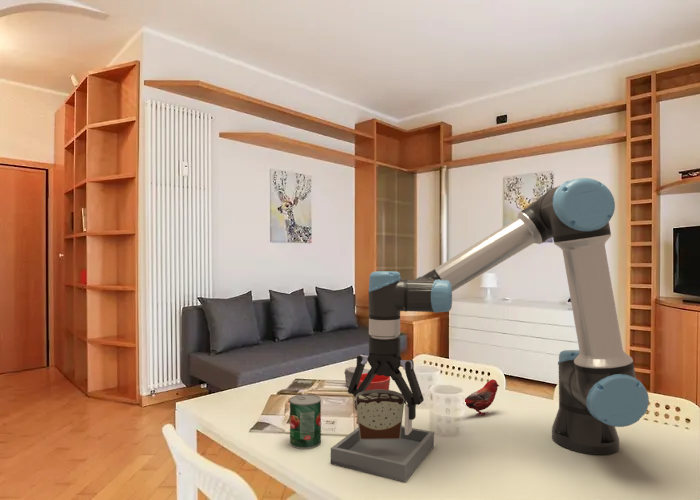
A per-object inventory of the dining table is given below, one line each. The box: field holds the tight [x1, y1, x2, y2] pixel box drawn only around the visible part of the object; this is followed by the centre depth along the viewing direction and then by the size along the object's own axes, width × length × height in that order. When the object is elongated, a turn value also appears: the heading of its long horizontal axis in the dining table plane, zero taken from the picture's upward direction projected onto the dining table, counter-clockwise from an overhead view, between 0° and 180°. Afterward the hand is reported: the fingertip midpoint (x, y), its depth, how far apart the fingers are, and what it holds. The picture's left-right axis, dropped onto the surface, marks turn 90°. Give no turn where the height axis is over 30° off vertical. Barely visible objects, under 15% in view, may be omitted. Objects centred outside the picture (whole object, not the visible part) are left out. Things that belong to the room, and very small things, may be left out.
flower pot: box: [357, 373, 391, 391], centre depth 139 cm, size 11×11×10 cm
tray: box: [330, 425, 435, 483], centre depth 107 cm, size 18×20×4 cm
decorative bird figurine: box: [464, 379, 500, 416], centre depth 132 cm, size 3×18×10 cm, turn 115°
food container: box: [353, 389, 407, 440], centre depth 107 cm, size 12×6×10 cm, turn 92°
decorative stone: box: [344, 366, 370, 388], centre depth 159 cm, size 15×7×10 cm
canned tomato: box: [289, 393, 322, 450], centre depth 114 cm, size 8×8×11 cm
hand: (384, 428), depth 107 cm, fingers closed on food container, 11 cm apart
